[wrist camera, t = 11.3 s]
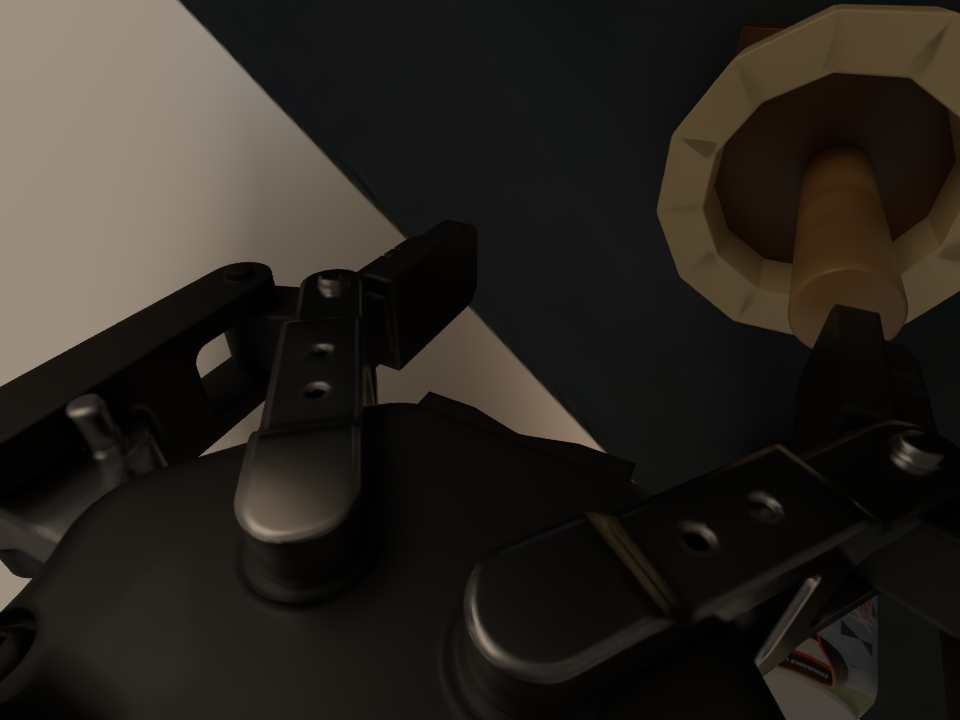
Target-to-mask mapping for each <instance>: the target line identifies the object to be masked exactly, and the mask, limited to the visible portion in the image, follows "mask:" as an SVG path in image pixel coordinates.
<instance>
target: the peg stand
mask: <svg viewBox="0 0 960 720" xmlns="http://www.w3.org/2000/svg"><path fill="white" fill-rule="evenodd" d="M788 27H790V25H769V24H749V23H748V24H746V25H744V26H743V27H742V30H741V33H740V37H739V41H738V45H737V49H736V53H735V57H736V56H737V55H738V54H739V53H740V52H741V51H743V50H744V49H745V48H747V47H749V46H751V45H753V44H755V43H757V42H759V41H761V40H763V39H765V38H767V37H769V36H771V35H774V34H776V33H778V32H780V31H782V30H784V29H786V28H788ZM735 57H734V58H735ZM955 161H956V158H955V151H954V145H953V139H952V133H951V126H950V120H949V114H948V108H947V107H945V106H944V105H943V104H942V103H940V102H939V101H938V100H937V99H935V98H934V97H933V96H932V95H930V94H929V93H928V92H927V91H925V90H924V89H923V88H922V87H920V86H919V85H918V84H917V83H915V82H914V81H913V80H912V79H910V78H902V77H887V76H872V75H857V74H842V73H832V74H830V75H827V76H825V77H823V78H820V79H818V80H815V81H813V82H811V83H808V84H806V85H804V86H801V87H799V88H796V89H794V90H792V91H789V92H787V93H785V94H782V95H780V96H777V97H775V98H773V99H770V100H768V101H766V102H763V103H762V104H761V105H760V106H759V107H758V108H757V109H756V110H755V111H754V113H753V114H752V115H751V116H750V117H749V118H748V119H747V120H746V121H745V122H744V124H743V125H742V126H741V127H740V128H739V129H738V130H737V131H736V132H735V133H734V135H733V136H732V137H731V138H730V139H729V140H728V141H727V142H726V143H725V146H724V150H723V154H722V158H721V161H720V165H719V169H718V173H717V177H716V181H715V184H714V186H715V189H716V192H717V195H718V198H719V202H720V205H721V208H722V211H723V214H724V217H725V220H726V224H727V227H728V229H729V230H730V231H731V232H733V233H734V234H735V235H736V236H737V237H739V238H740V239H741V240H742V241H744V242H745V243H746V244H747V245H749V246H750V247H751V248H752V249H753V250H755V251H756V252H757V253H758V254H760V255H761V256H762V257H763V258H764V259H768V260H773V261H779V262H784V263H789V264H793V265H792V275H791V285H790V294H789V304H788V321H789V325H790V327H791V329H792V331H793V333H794V334H795V336H796V337H797V338H798V339H799V340H800V341H801V342H802V343H804V344H805V345H807V346H808V347H810V348H812V349H813V347H814V345H815V342H816V340H817V338H818V336H819V334H820V332H821V329H822V327H823V325H824V323H825V321H826V319H827V317H828V315H829V313H830V311H831V309H832V308H833V306H834V305H835V304H840V305H845V306H849V307H854V308H859V309H863V310H868V311H873V312H877V313H879V314H880V317H881V323H882V328H883V334H884V340H888V341H890V340H891V339H893V338H894V337H895V336H896V335H897V334H898V333H899V331H900V330H901V328H902V327H903V325H904V323H905V321H906V318H907V315H908V301H907V297H906V293H905V289H904V285H903V282H902V278H901V274H900V270H899V266H898V262H897V258H896V254H895V250H894V246H893V243H892V242H893V241H895V240H896V239H897V238H899V237H900V236H901V235H903V234H904V233H905V232H907V231H908V230H910V229H911V228H912V227H914V226H915V225H916V224H918V223H919V222H921V221H922V220H923V219H925V218H926V217H927V216H928V214H929V212H930V210H931V208H932V206H933V204H934V202H935V201H936V199H937V197H938V195H939V193H940V191H941V189H942V187H943V185H944V183H945V181H946V179H947V177H948V175H949V173H950V171H951V169H952V167H953V165H954V163H955Z"/></svg>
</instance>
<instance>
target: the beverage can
mask: <svg viewBox="0 0 960 720" xmlns="http://www.w3.org/2000/svg"><path fill="white" fill-rule="evenodd" d="M785 447H786V448H788V449H789V450H790V451H792V452H793V446H785ZM763 678H764V680H765V682H766V684H767V685H768V687H769V689H770V691H771V693H772V695H773V697H774V698H775V700H776V702H777V704H778V706H779V708H780V709H781V711H782V713H783V715H784V717H785V719H786V720H858V718H860V717H861V716H862V715H863V714H864V713H865V712H866V711H867V710H868V709H869V708H870V707H871V706H872V705H873V703H874V701H875V699H876V695H877V690H878V683H877V596H875V597H874V598H872V599H870V600H869V601H867V602H866V603H864V604H863V605H861V606H859V607H858V608H856V609H855V610H853V611H851V612H850V613H848V614H847V615H845V616H843V617H842V618H840V619H839V620H837V621H836V622H834V623H832V624H831V625H829V626H828V627H826V628H824V629H823V630H821V631H820V632H818V633H817V634H815V635H813V636H812V637H810V638H809V639H807V640H806V641H804V642H803V643H802V644H800V645H799V646H798V647H797V648H796V649H794V650H793V651H792V652H791V653H790V654H789V655H788V656H787V657H786V658H785V659H784V660H783V661H782V662H781V663H780V664H778V665H777V666H776V667H775V668H774V669H772V670H771V671H770V672H769V673H767V674H766V675H765V676H763Z"/></svg>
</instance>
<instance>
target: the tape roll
mask: <svg viewBox="0 0 960 720" xmlns="http://www.w3.org/2000/svg"><path fill="white" fill-rule="evenodd" d="M832 73H842V74H857V75H872V76H887V77H902V78H910V79H912V80H913V81H914V82H915V83H917V84H918V85H919V86H920V87H922V88H923V89H924V90H925V91H927V92H928V93H929V94H930V95H932V96H933V97H934V98H935V99H937V100H938V101H939V102H940V103H942V104H943V105H944V106H945V107H947V108H948V114H949V120H950V126H951V133H952V139H953V145H954V151H955V158H956V161H955V163H954V165H953V167H952V169H951V171H950V173H949V175H948V177H947V179H946V181H945V183H944V185H943V187H942V189H941V191H940V193H939V195H938V197H937V199H936V201H935V202H934V204H933V206H932V208H931V210H930V212H929V214H928V216H927V217H926V218H925V219H923V220H922V221H921V222H919V223H918V224H916V225H915V226H914V227H912V228H911V229H910V230H908V231H907V232H905V233H904V234H903V235H901V236H900V237H899V238H897V239H896V240H895V241H893V242H892V243H893V246H894V250H895V254H896V258H897V262H898V266H899V270H900V274H901V278H902V282H903V285H904V289H905V293H906V297H907V301H908V315H907V318H906V321H905V323H908V322H910V321H911V320H913V319H915V318H916V317H918V316H920V315H921V314H923V313H924V312H926V311H928V310H929V309H931V308H933V307H934V306H936V305H938V304H939V303H941V302H942V301H944V300H946V299H947V298H949V297H951V296H952V295H954V294H955V293H957V292H959V291H960V13H958V12H954V11H951V10H948V9H945V8H941V7H933V6H895V5H856V4H838V5H833V6H831V7H829V8H827V9H825V10H823V11H821V12H819V13H817V14H815V15H813V16H810V17H808V18H806V19H804V20H802V21H800V22H798V23H796V24H794V25H792V26H790V27H788V28H786V29H784V30H782V31H780V32H778V33H776V34H774V35H771V36H769V37H767V38H765V39H763V40H761V41H759V42H757V43H755V44H753V45H751V46H749V47H747V48H745V49H744V50H743V51H741V52H740V53H739V54H738V55H737V56H736V57H735V58H734V59H733V60H732V61H731V63H730V64H729V65H728V66H727V68H726V69H725V70H724V71H723V72H722V74H721V75H720V76H719V77H718V79H717V80H716V81H715V82H714V84H713V85H712V86H711V87H710V88H709V90H708V91H707V92H706V93H705V95H704V96H703V97H702V98H701V99H700V101H699V102H698V103H697V104H696V106H695V107H694V108H693V109H692V111H691V112H690V113H689V114H688V115H687V117H686V118H685V119H684V120H683V122H682V123H681V124H680V125H679V127H678V128H677V129H676V130H675V131H674V133H673V135H672V137H671V142H670V147H669V152H668V157H667V162H666V167H665V172H664V177H663V182H662V187H661V191H660V196H659V201H658V206H657V215H658V218H659V220H660V223H661V226H662V229H663V231H664V234H665V237H666V240H667V243H668V245H669V248H670V251H671V254H672V256H673V259H674V262H675V265H676V267H677V270H678V273H679V276H680V277H681V278H682V279H683V280H684V281H686V282H687V283H688V284H689V285H691V286H692V287H693V288H694V289H695V290H697V291H698V292H699V293H700V294H701V295H703V296H704V297H705V298H706V299H708V300H709V301H710V302H711V303H712V304H714V305H715V306H716V307H717V308H719V309H720V310H721V311H722V312H723V313H725V314H726V315H727V316H728V317H730V318H731V319H732V320H733V321H737V322H740V323H745V324H749V325H753V326H758V327H762V328H766V329H771V330H775V331H779V332H784V333H788V334H792V335H795V334H794V333H793V331H792V329H791V327H790V325H789V321H788V304H789V294H790V285H791V275H792V265H793V264H789V263H784V262H779V261H773V260H768V259H764V258H763V257H762V256H761V255H760V254H758V253H757V252H756V251H755V250H753V249H752V248H751V247H750V246H749V245H747V244H746V243H745V242H744V241H742V240H741V239H740V238H739V237H737V236H736V235H735V234H734V233H733V232H731V231H730V230H729V229H728V227H727V224H726V220H725V217H724V214H723V211H722V208H721V205H720V202H719V198H718V195H717V192H716V189H715V186H714V184H715V181H716V177H717V173H718V169H719V165H720V161H721V158H722V154H723V150H724V146H725V143H726V142H727V141H728V140H729V139H730V138H731V137H732V136H733V135H734V133H735V132H736V131H737V130H738V129H739V128H740V127H741V126H742V125H743V124H744V122H745V121H746V120H747V119H748V118H749V117H750V116H751V115H752V114H753V113H754V111H755V110H756V109H757V108H758V107H759V106H760V105H761V104H762V103H763V102H766V101H768V100H770V99H773V98H775V97H777V96H780V95H782V94H785V93H787V92H789V91H792V90H794V89H796V88H799V87H801V86H804V85H806V84H808V83H811V82H813V81H815V80H818V79H820V78H823V77H825V76H827V75H830V74H832ZM905 323H904V324H905Z"/></svg>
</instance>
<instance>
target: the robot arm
mask: <svg viewBox="0 0 960 720" xmlns="http://www.w3.org/2000/svg"><path fill="white" fill-rule="evenodd" d="M476 286H477V231H476V228H475V227H474V226H473V225H470V224H465V223H460V222H456V221H451V220H444V221H442V222H441V223H439V224H438V225H436V226H435V227H433V228H432V229H430V230H429V231H427V232H426V233H424V234H422V235H419V236H416V237H413V238H409V239H407V240H405V241H404V242H402V243H400V244H399V245H398V246H396V247H395V248H394V249H391V250H390V251H388V252H387V253H385V254H384V256H380V257H379V258H377V259H376V260H374V261H373V262H371V263H370V264H368V265H367V266H365V267H364V268H362V269H361V270H359V271H358V272H354V271H351V270H345V269H332V270H325V271H321V272H318V273H315V274H312V275H311V276H309V277H307V278H306V279H305V280H303V282H302V283H301V286H300V287H287V286H275V284H274V279H273V275H272V271H271V269H270V267H268V266H267V265H264V264H261V263H256V262H241V263H235V264H230V265H227V266H224V267H221V268H219V269H217V270H215V271H213V272H211V273H209V274H207V275H206V276H204V277H202V278H200V279H198V280H196V281H195V282H193V283H191V284H189V285H187V286H185V287H183V288H182V289H180V290H178V291H176V292H174V293H172V294H170V295H169V296H167V297H165V298H163V299H161V300H159V301H158V302H156V303H154V304H152V305H150V306H148V307H147V308H145V309H143V310H141V311H139V312H137V313H135V314H134V315H132V316H130V317H128V318H126V319H124V320H122V321H121V322H119V323H117V324H115V325H113V326H112V327H110V328H108V329H106V330H104V331H102V332H100V333H98V334H97V335H95V336H93V337H91V338H89V339H87V340H86V341H84V342H82V343H80V344H78V345H76V346H75V347H73V348H71V349H69V350H67V351H66V352H63V353H62V354H60V355H58V356H56V357H54V358H52V359H51V360H49V361H47V362H45V363H43V364H41V365H39V366H38V367H36V368H34V369H32V370H30V371H29V372H27V373H25V374H23V375H21V376H19V377H17V378H16V379H14V380H12V381H10V382H8V383H7V384H5V385H3V386H1V387H0V560H1V561H2V562H3V563H4V564H5V565H6V566H7V568H8V569H9V570H10V571H11V572H12V573H13V574H14V575H16V576H18V577H22V578H32V580H31V581H30V582H29V583H28V584H27V585H26V586H25V588H24V589H23V590H22V591H21V592H20V593H19V594H18V595H17V596H16V597H15V598H14V599H13V600H12V601H11V602H10V603H9V604H8V605H7V606H6V607H5V608H4V609H3V610H2V611H1V612H0V720H786V719H785V717H784V715H783V713H782V711H781V709H780V708H779V706H778V704H777V702H776V700H775V698H774V697H773V695H772V693H771V691H770V689H769V687H768V685H767V684H766V682H765V680H764V678H763V676H765V675H766V674H767V673H769V672H770V671H771V670H772V669H774V668H775V667H776V666H777V665H778V664H780V663H781V662H782V661H783V660H784V659H785V658H786V657H787V656H788V655H789V654H790V653H791V652H792V651H793V650H794V649H796V648H797V647H798V646H799V645H800V644H802V643H803V642H804V641H806V640H807V639H809V638H810V637H812V636H813V635H815V634H817V633H818V632H820V631H821V630H823V629H824V628H826V627H828V626H829V625H831V624H832V623H834V622H836V621H837V620H839V619H840V618H842V617H843V616H845V615H847V614H848V613H850V612H851V611H853V610H855V609H856V608H858V607H859V606H861V605H863V604H864V603H866V602H867V601H869V600H870V599H872V598H874V597H875V596H877V595H878V594H879V593H881V592H882V593H884V594H885V595H887V596H888V597H890V598H892V599H893V600H895V601H897V602H898V603H900V604H901V605H903V606H905V607H906V608H908V609H909V610H911V611H913V612H914V613H916V614H917V615H919V616H921V617H922V618H924V619H926V620H927V621H929V622H930V623H932V624H934V625H935V626H937V627H938V628H939V634H940V644H941V654H942V664H943V674H944V684H945V694H946V704H947V714H948V720H960V448H958V447H957V446H956V445H955V444H953V443H952V442H950V441H949V440H947V439H946V438H944V437H943V436H941V435H939V434H938V433H937V429H936V425H935V421H934V418H933V414H932V410H931V406H930V402H929V398H928V395H926V393H927V390H926V386H925V382H924V381H923V374H922V370H921V366H920V362H919V361H918V360H917V359H916V357H915V356H914V355H913V354H912V353H911V352H910V351H909V350H908V349H907V348H906V347H905V346H904V345H903V344H901V343H896V342H892V341H888V340H884V334H883V328H882V323H881V317H880V314H879V313H877V312H873V311H868V310H863V309H859V308H854V307H849V306H845V305H840V304H835V305H834V306H833V308H832V309H831V311H830V313H829V315H828V317H827V319H826V321H825V323H824V325H823V327H822V329H821V332H820V334H819V336H818V338H817V340H816V342H815V345H814V347H813V349H812V351H811V353H810V355H809V358H808V360H807V362H806V364H805V366H804V368H803V371H802V374H801V376H800V379H799V383H798V386H797V391H796V399H795V416H794V434H793V452H792V451H790V450H789V449H788V448H786V447H785V446H784V445H782V444H775V445H771V446H769V447H766V448H764V449H762V450H759V451H757V452H754V453H752V454H750V455H747V456H745V457H743V458H740V459H738V460H736V461H733V462H731V463H729V464H726V465H724V466H722V467H719V468H717V469H715V470H712V471H710V472H708V473H705V474H703V475H701V476H698V477H696V478H694V479H691V480H689V481H687V482H684V483H682V484H680V485H677V486H675V487H673V488H670V489H668V490H666V491H663V492H661V493H659V494H656V495H654V496H652V495H651V494H649V493H648V492H647V491H645V490H644V489H643V488H641V487H640V486H639V485H637V484H635V483H634V482H632V481H631V478H632V474H633V471H634V467H635V463H632V462H629V461H626V460H623V459H621V458H618V457H615V456H612V455H609V454H606V453H604V452H601V451H598V450H594V449H592V448H589V447H586V446H584V445H581V444H576V443H570V442H564V441H558V440H551V439H545V438H539V437H532V436H526V435H521V434H518V433H516V432H514V431H512V430H511V429H509V428H507V427H506V426H504V425H503V424H501V423H499V422H497V421H496V420H494V419H493V418H491V417H489V416H488V415H486V414H484V413H483V412H481V411H480V410H478V409H477V408H475V407H472V406H470V405H466V404H464V403H461V402H458V401H455V400H452V399H450V398H447V397H444V396H441V395H438V394H435V393H432V392H428V394H427V395H426V396H425V397H424V398H423V399H422V400H421V401H420V402H419V403H418V404H414V403H387V404H378V392H377V391H378V390H377V389H378V388H377V375H376V367H377V366H378V365H379V364H382V365H384V366H388V367H390V368H393V369H396V370H399V371H400V370H401V369H402V368H403V367H404V366H405V365H406V364H407V363H408V362H409V361H410V360H411V359H413V357H414V356H416V355H417V354H418V353H419V352H420V351H421V350H422V349H423V348H424V347H425V346H426V345H427V344H428V343H429V342H430V341H431V340H432V339H433V338H434V337H436V336H437V335H438V334H439V333H440V332H441V331H442V330H443V329H444V328H445V327H446V326H447V325H448V324H449V323H450V322H451V321H452V320H453V319H454V318H456V316H458V314H460V313H461V312H462V311H463V310H464V309H465V308H466V307H467V306H468V305H469V304H470V302H471V301H472V299H473V297H474V294H475V291H476ZM222 333H224V334H225V337H226V340H227V343H228V346H229V349H230V352H231V356H232V357H230V358H229V359H227V360H226V361H225V362H223V363H222V364H220V365H219V366H218V367H216V368H215V369H213V370H212V371H211V372H209V373H208V374H207V375H205V376H204V377H203V378H201V377H200V375H199V372H198V369H197V366H196V359H197V356H198V353H199V351H200V350H201V348H202V347H203V346H204V345H206V344H207V343H208V342H210V341H211V340H213V339H215V338H216V337H217V336H219V335H221V334H222ZM263 401H265V405H264V410H263V414H262V419H261V423H260V427H259V429H258V431H256V432H253V433H252V434H251V435H250V437H249V440H248V442H247V443H244V444H241V445H237V446H234V447H230V448H228V449H224V450H220V451H217V452H214V453H210V454H208V455H204V456H200V455H201V454H202V453H204V452H205V451H206V450H207V449H208V448H209V447H211V446H212V445H213V444H214V443H215V442H217V441H218V440H219V439H220V438H221V437H222V436H224V435H225V434H226V433H227V432H228V431H229V430H231V429H232V428H233V427H234V426H235V425H236V424H238V423H239V422H240V421H241V420H242V419H244V418H245V417H246V416H247V415H248V414H249V413H251V412H252V411H253V410H254V409H255V408H256V407H258V406H259V405H260V404H261V403H262V402H263ZM199 456H200V457H199Z"/></svg>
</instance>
